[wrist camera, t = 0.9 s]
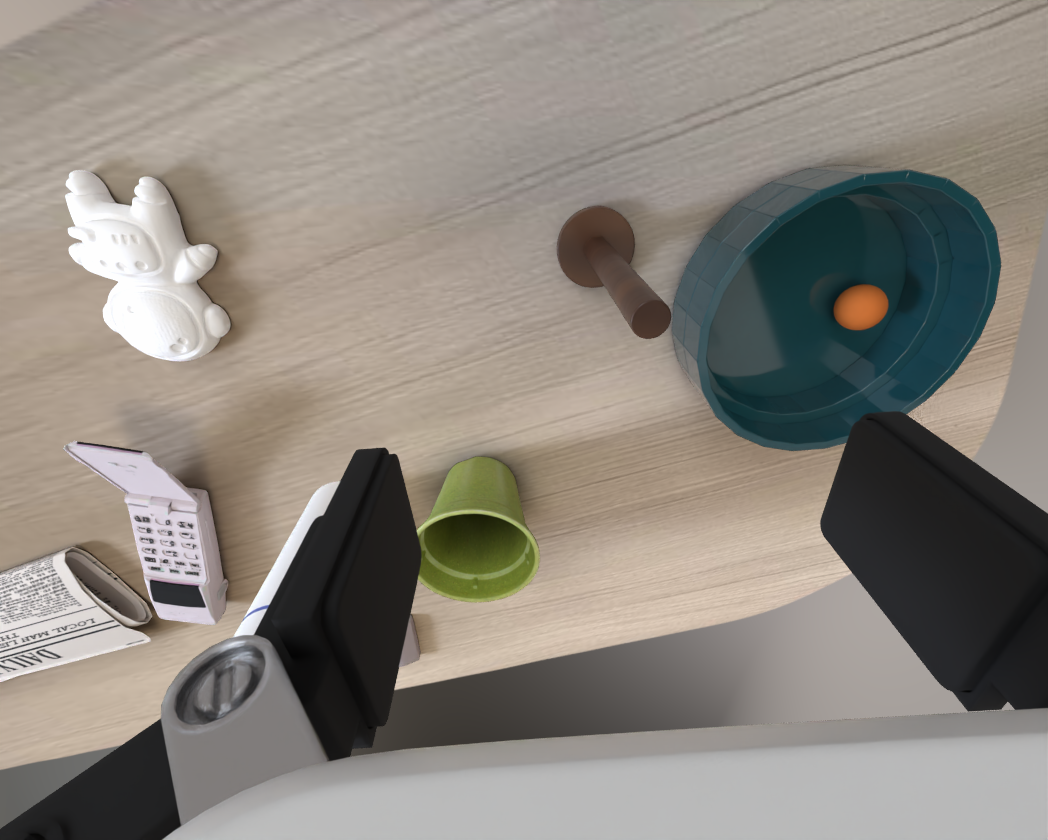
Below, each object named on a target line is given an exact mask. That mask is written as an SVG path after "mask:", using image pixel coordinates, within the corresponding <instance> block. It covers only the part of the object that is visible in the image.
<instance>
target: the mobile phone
mask: <svg viewBox="0 0 1048 840" xmlns="http://www.w3.org/2000/svg"><path fill="white" fill-rule="evenodd" d="M63 450H65V451H66V452H68V453H69V455H70V456H71V457H73V458H74V459H76V460H77V461H78V462H80V463H83V464H84V465H86V466H87V467H89V468H90V469H92V470H93V471H95V472H96V473H97V474H99V475H100V476H102V477H103V478H105V479H106V480H108V481H109V482H111V483H112V484H113V485H115V486H116V487H118V488H119V489H121V490H122V491H124V492H125V493H127V495H126V496H125V503H128V509H129V513H130V518H131V522H132V527H133V531H134V536H135V540H136V545H137V549H138V553H139V557H140V560H141V564H142V568H143V571H144V579H145V583H146V586H147V589H148V592H149V596H150V599H151V601H152V603H153V606H154V608H155V610H156V612H157V615H158V617H160V618H161V619H165V620H174V621H180V622H191V623H200V624H209V625H215V624H217V622H218V621H219V620H220V619H221V616H222V615H223V614H224V612H225V610H226V598H225V592H226V590H227V588H228V581H227V579H224V578H223V572H222V566H221V560H220V554H219V548H218V541H217V536H216V531H215V526H214V521H213V516H212V511H211V506H210V501H209V496H208V493H207V491H206V490H201V489H194V488H187V487H185V486H184V485H183V484H182V483H181V482H180V481H179V480H178V479H177V478H176V477H175V476H173V475H172V474H171V473H170V472H169V471H168V470H166V469H165V468H164V467H163V466H162V465H161V464H159V463H158V462H157V461H156V460H155V459H154V458H152V457H151V456H150V455H149V454H148V453H147V452H143V451H138V450H131V449H125V448H119V447H112V446H106V445H99V444H91V443H84V442H75V441H74V442H72V443H70V444H67V445H65V447H64V449H63Z"/></svg>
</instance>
